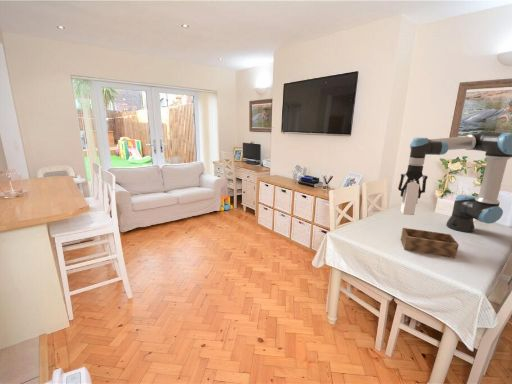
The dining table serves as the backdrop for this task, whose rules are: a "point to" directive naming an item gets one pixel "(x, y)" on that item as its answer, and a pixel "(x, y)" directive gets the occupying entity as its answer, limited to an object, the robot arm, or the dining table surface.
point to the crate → (429, 242)
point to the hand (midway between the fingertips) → (409, 202)
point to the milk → (410, 198)
